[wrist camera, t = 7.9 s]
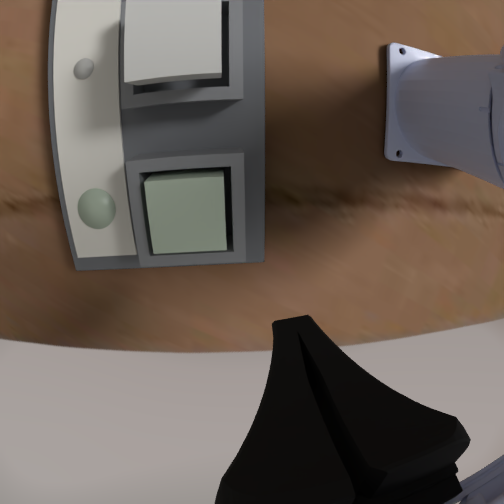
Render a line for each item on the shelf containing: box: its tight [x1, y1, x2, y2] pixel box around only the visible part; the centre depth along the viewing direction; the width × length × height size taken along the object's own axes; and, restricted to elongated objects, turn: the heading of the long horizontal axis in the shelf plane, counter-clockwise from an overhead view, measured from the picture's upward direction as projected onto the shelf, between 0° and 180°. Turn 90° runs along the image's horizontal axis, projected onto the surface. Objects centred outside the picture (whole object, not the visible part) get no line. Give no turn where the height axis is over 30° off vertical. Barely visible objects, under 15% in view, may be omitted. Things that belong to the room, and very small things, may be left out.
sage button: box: [144, 168, 227, 254], centre depth 15 cm, size 4×4×2 cm
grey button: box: [124, 0, 222, 86], centre depth 10 cm, size 4×4×2 cm
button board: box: [48, 0, 265, 271], centre depth 13 cm, size 12×24×4 cm, turn 1°
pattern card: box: [53, 0, 137, 258], centre depth 12 cm, size 4×22×1 cm, turn 1°
